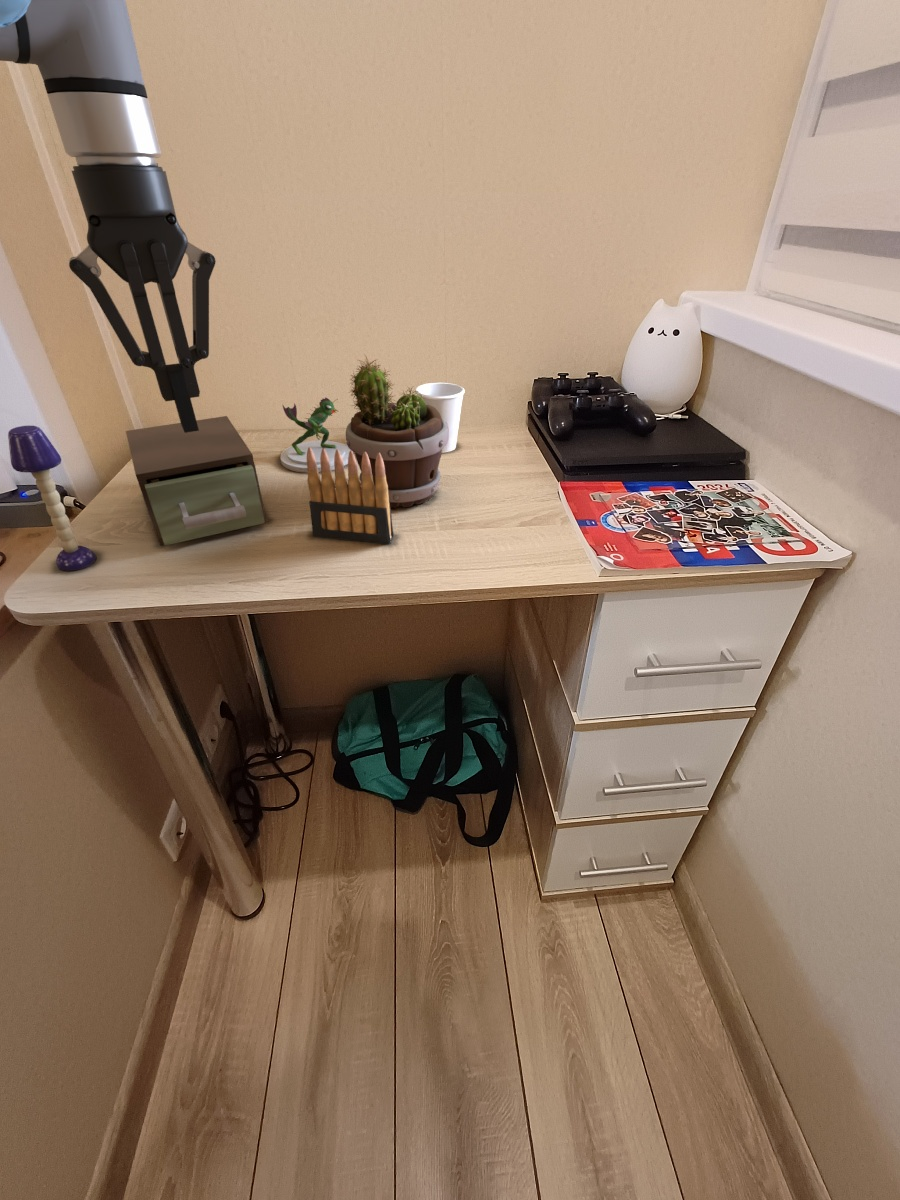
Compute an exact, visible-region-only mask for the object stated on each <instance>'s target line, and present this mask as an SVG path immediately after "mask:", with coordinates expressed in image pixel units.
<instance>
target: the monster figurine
mask: <svg viewBox="0 0 900 1200" xmlns="http://www.w3.org/2000/svg"><path fill="white" fill-rule="evenodd" d="M338 399H339V398H337V399H335V401H337V400H338ZM335 401H331V400H330V399H329V398H328V397H324V398H322V399H320V401H319V405H318V404H316V406H317V407H315V406H314V407H313V408H314V410H313V409H311V411H312V413H306V414H308V415H310V417H309V418H308V417H305V420H307V421H305V420H304V421H302V420H299V419H298V408H297V405H296V403H295V402H294V403H293V407H290V406H287V407H285V405H282V409H283V412H284V414H285V416H286V417H287V418H288V419H289V420H290V421H293V422H295V424H296V425H297V426H298V427H300V428H303V429H304V430H306V431H305V432H304V433H303V434H302V435H300V436H299V437H298V438H297V439H296V440H294V442H292V443H291V446H289V447H287V448H285V449H284V450H283V451H282V452H281V454H280V458H279V459H280V463H281V465H282V466H283V467H284V468H286V469H287V470H290V471H293V472H296V473H306V474H308V471H307V470H308V469H307V450H308V448H309V447H310V448H311V449H312V451H313V454H314V456H315V460H316V464H317V469H318V474H320V473H321V465H320V457H321V451H322V449H323V448H324V449H325V451H326V453H327V455H328V458H329V462H330V467H331V472H332V471H335V468H334V457H335V452H336V450H337V449H338V450H339V452H340V454H341V457H342V460H343V464H344V467H346V466H348V456H349V452H350V451H352V450H350V449H349V447H348V445H347V444H346V443H343V442H338V441H332V440H329V437H330V431H329V430H328V429H327V428H326V427H324V426H323V423H324V424H325V422H326V421H327V420H328V417H330V416H331V417H332V416H333V414H335V413H337V412H338V409H336V408H335V404H334V403H335ZM320 434H322V437H321V436H320ZM313 436H315V437H316V439H318V440H311V441H310V440H309V441H305V440H307V439H308V438H311V437H313ZM320 439H321V440H320ZM352 452H353V451H352Z"/></svg>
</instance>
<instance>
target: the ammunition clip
mask: <svg viewBox="0 0 900 1200" xmlns="http://www.w3.org/2000/svg"><path fill="white" fill-rule="evenodd" d="M320 465H321V472H320V473H318V469H317V464H316V460H315V456H314V454H313V451H312V449H311V448H310V447H309V448H308V450H307V469H308V470H307V471H308V473H307V486H308V487H307V488H308V494H309V502H308V503H309V512H310V513H309V514H310V522H311V531H312V536H313V537H316V538H325V539H335V540H346V541H355V542H363V543H373V544H374V543H375V544H382V545H383V544H384V545H390V544H391V543H392V541H393V539H394V537H395V535H394V527H393V519H392V518H393V517H392V510H391V507H390V503H389V495H388V485H387V482H386V475H385V467H384V462H383V459H382V456H381V454H380V453H378V454H377V457H376V463H375V487H374V482H373V478H372V472H371V465H370V460H369V457H368V455H367V453H366V452H364V453H363V456H362V465H361V469H362V484H361V483H360V479H359V476H360V474H359V468H358V467H359V466H358V462H357V459H356V456H355V452H353V451H350V452H349V456H348V464H347V476H348V477H346V471H345V466H344V464H343V460H342V457H341V454H340V452H339V450H338V449H337V450H336V452H335V457H334V468H335V470H334V477H333V472H332V471H331V467H330V462H329V458H328V455H327V453H326V451H325V449H324V448H323V449H322V451H321V457H320ZM320 476H321V477H320ZM347 478H348V479H347Z"/></svg>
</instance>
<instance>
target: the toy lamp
mask: <svg viewBox="0 0 900 1200" xmlns="http://www.w3.org/2000/svg"><path fill="white" fill-rule="evenodd" d="M7 439H8V448H9V449H8V450H9V457H10V464H11V467H12V469H13V470H15V471H16V472H17V473H18V472H19V473H30V474H31V475H32V477H33V478H34V479H35V485H36V487H37V489H38V491H39V492H40V496H41V500H42V501H43V503H44V504H45V509H46V513H47V514H48V515H49V516H50V521H51V524H52V526H53V527H54V528H55V534H56V536H57V538H58V539H59V540H60V541H59V542H60V543H59V544H60V547H61V549H62V550H61V551H60V552H59V553H58V554H57V556H56V559H55V560H56V561H55V563H56V567H57V568H58V569H59V570H61V571H68V572H70V571H79V570H81V569H82V570H83V569H85V568H87V567H89V566H91V565H92V564H94V563H95V562H96V560H97V556H96V554H95V553H94V551H93V550H92V549H90V548H89V547H87V546H84V545H79V542H78V540H77V539H76V538H75V533H74V529H73V528H72V526H71V525H70V523H71V522H70V518H69V517H68V515H67V514H66V508H65V506H64V504H63V503H62V502H61V495H60V493H59V491H58V490H57V489H56V487H57V486H56V483H55V480H54V479H53V478H52V477H51V475H52V472H51V469H54V468H57V467H58V466H59V465H60V464H61V463H62V457H61V455H60V454H59V452H58V451H57V449H56V448H55V447H54V445H53V444H52V442H51V440H50V439H49V437H48V436H47V435H46V434H45V432H44V431H43V429H42V428H40V427H39V426H36V425H21V426H15V427H13V428H11V429H9V431H8V432H7Z"/></svg>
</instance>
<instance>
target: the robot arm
mask: <svg viewBox="0 0 900 1200" xmlns="http://www.w3.org/2000/svg"><path fill="white" fill-rule="evenodd" d="M135 41H136V40H135V37H134V33H133V27H132V23H131V19H130V15H129V9H128V5H127V0H0V61H1V62H11V63H15V64H19V65H20V64H21V65H28V64H29V65H36V66H37V69H38V70H39V73H40V75H41V78H42V80H43V85H44V88H45V91H46V94H47V98H48V101H49V104H50V107H51V111H52V113H53V117H54V120H55V123H56V126H57V127H56V128H57V129H58V132H59V137H60V139H61V142H62V145H63V150H64V152H65V154H66V155H68V156H69V157H70V158H75V162H76V165H73V166H72V168H73V170H71V174H72V177H73V181H74V183H75V186H76V190H77V193H78V196H79V199H80V203H81V206H82V209H83V212H84V216H85V218H86V219H85V220H86V221H87V234H86V241H87V244H88V245H87V246H86V247H85V248H83V249H82V251H80V252H79V253H78V254H77V255H76V256H72V257H70V258H69V260H68V261H69V262H68V267H69V270H70V271H71V272H72V273H73V274H74V275H75V276H76V277H77V278H78V279H79V280H80V281H81V282H82V283H83V284H85V285H86V286H87V287H88V288H89V290H90V292H91V293H92V295H93V297H94V298H95V300H96V302H97V304H98V305H99V308H100V309H101V311H102V312H103V314H104V316H105V317H106V319H107V321H108V322H109V325H110V326H111V327H112V329H113V331H114V333H115V335H116V337H117V338H118V340H119V341H120V344H121V345H122V346H123V348H124V350H125V352H126V353H127V355H128V357H129V359H130V361H131V362H132V363H133V365H134V366H136V367H145V368H149V369H151V370H152V371H153V372H154V375H155V379H156V381H157V385H158V389H159V392H160V395H161V397H162V399H163V400H164V401H165V402H171V401H174V404H175V407H176V411H177V415H178V419H179V423H181V426H182V428H183V430H184V432H185V433H187V432H193V431H199V429H198V425H197V421H196V420H197V417H196V413H195V410H194V407H193V403H192V399H194V398H199V397H200V394H201V390H200V387H199V383H198V379H197V375H196V371H195V365H196V363H198V362H199V361H201V360H205V359H208V357H209V355H210V279H211V276H212V274H213V271H214V268H215V266H216V263H217V260H216V258H215V256H214V255H213V254H212V253H210V252H209V251H207V250H202V249H201V248H200V247H197V246H196V245H194V244H193V243H190V242H189V240H188V237H187V235H186V232H185V231H184V230H183V228H182V227H181V225H180V223H179V221H178V218H177V214H176V209H175V205H174V201H173V198H172V193H171V189H170V184H169V180H168V176H167V171H165V170H164V169H163V167H162V166H159V164H158V162H157V159H159V158H161V156H162V150H161V146H160V141H159V137H158V134H157V129H156V125H155V122H154V117H153V112H152V108H151V104H150V100H149V98H148V94H147V90H146V87H145V82H144V78H143V73H142V69H141V64H140V60H139V59H140V58H139V55H138V49H137V46H136V42H135ZM185 255H186V256H187V265H188V267H189V269H191V270H192V276H191V277H192V278H191V279H192V280H191V291H192V293H191V295H192V301H191V302H192V305H191V306H192V345H191V346H189V342H188V338H187V334H186V331H185V326H184V323H183V319H182V315H181V311H180V307H179V303H178V300H177V299H178V298H177V295H176V290H175V285H174V281H173V280H174V279H175V278H176V275H177V273H178V271H179V269H180V266H181V263H182V262H183V259H184V256H185ZM98 258H99V259H101V261H102V262H103V263H104V264H106V266H107V267H109V268H110V269H111V270H112V271H113V272H114V273H115V274H116V275H117V276H118V277H119V278H120V279H121V280H123V281H124V282H125V283H127V284H128V287H129V291H130V294H131V298H132V301H133V303H134V307H135V312H136V315H137V318H138V321H139V324H140V327H141V331H142V335H143V338H144V341H145V345H146V348H147V351H145V350H144V351H143V350H141V348H140V346H139V345H138V342H137V341H136V339H135V337H134V336H133V334H132V332H131V330H130V328H129V327H128V325H127V324H126V321H125V320H124V318H123V316H122V314H121V313H120V310H119V309H118V307H117V305H116V304H115V302H114V301H113V298H112V297H111V295H110V293H109V291H108V290H107V288H106V286H105V285H104V283H103V281H102V280H101V279H100V276H102V268H101V267H100V265H99V264H98ZM149 283H154V284H156V286H157V289H158V291H159V295H160V296H159V297H160V300H161V302H162V306H163V310H164V313H165V317H166V321H167V325H168V328H169V333H170V336H171V340H172V344H173V348H174V351H175V354H176V358H177V360H178V363H171V364H167V363H166V359H165V355H164V352H163V349H162V345H161V341H160V337H159V334H158V330H157V327H156V323H155V320H154V316H153V313H152V309H151V305H150V302H149V298H148V293H147V290H146V287H145V285H146V284H149Z"/></svg>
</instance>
